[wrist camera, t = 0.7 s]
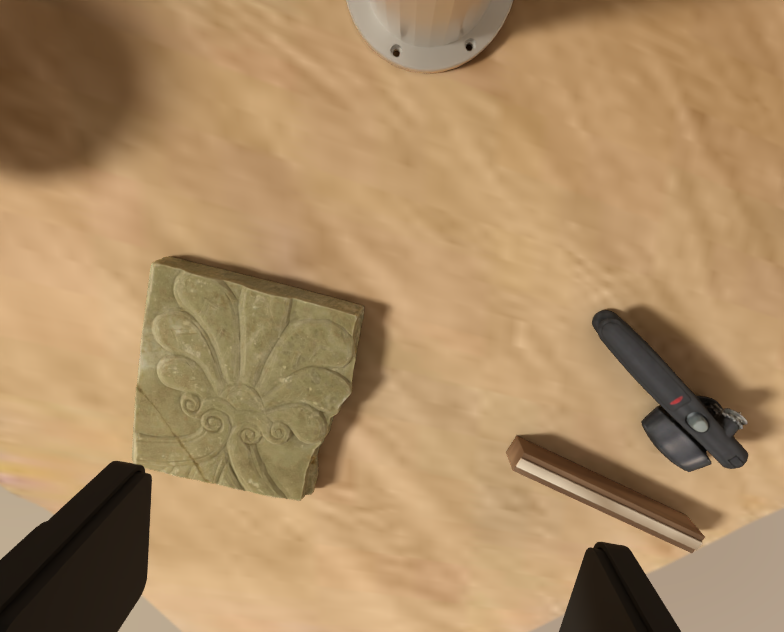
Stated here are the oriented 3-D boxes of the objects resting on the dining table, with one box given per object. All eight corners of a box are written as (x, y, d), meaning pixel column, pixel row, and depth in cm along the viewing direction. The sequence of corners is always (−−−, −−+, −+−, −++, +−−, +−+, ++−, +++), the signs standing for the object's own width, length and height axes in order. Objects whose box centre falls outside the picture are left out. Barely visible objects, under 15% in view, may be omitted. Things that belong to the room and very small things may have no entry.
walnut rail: (516, 435, 45) (524, 453, 42) (686, 515, 47) (706, 538, 44) (505, 452, 45) (513, 471, 42) (674, 530, 47) (693, 555, 44)
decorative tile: (143, 450, 47) (122, 471, 44) (166, 253, 42) (144, 259, 38) (327, 493, 48) (321, 517, 44) (373, 303, 43) (370, 314, 39)
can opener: (736, 424, 44) (783, 457, 39) (672, 467, 46) (708, 505, 40) (626, 283, 41) (660, 297, 36) (560, 333, 43) (583, 355, 37)
